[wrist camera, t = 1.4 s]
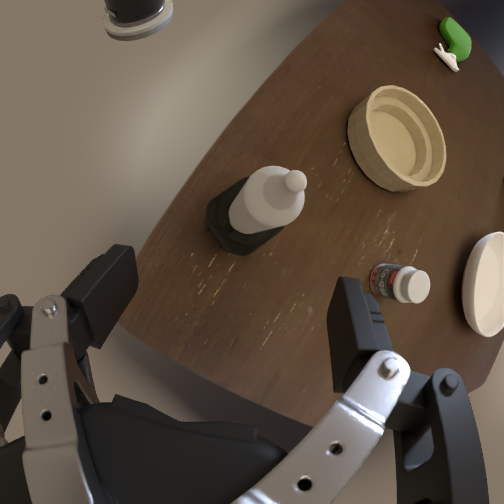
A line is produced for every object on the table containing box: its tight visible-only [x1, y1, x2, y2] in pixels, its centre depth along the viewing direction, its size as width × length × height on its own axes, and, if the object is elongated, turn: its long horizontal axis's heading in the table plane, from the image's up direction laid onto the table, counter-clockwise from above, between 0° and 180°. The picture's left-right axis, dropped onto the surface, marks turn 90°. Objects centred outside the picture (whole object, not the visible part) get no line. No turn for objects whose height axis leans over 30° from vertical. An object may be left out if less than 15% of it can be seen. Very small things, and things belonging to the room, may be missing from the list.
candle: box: [206, 166, 307, 256], centre depth 22 cm, size 5×5×25 cm
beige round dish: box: [347, 85, 446, 192], centre depth 35 cm, size 15×15×6 cm
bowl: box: [462, 232, 504, 337], centre depth 39 cm, size 20×20×6 cm
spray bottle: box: [434, 17, 471, 72], centre depth 41 cm, size 3×11×25 cm
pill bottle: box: [370, 264, 430, 303], centre depth 34 cm, size 5×5×8 cm
